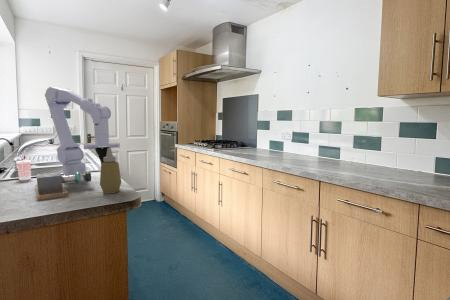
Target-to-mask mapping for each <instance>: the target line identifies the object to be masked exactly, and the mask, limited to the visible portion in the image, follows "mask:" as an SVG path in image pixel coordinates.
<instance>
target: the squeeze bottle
mask: <svg viewBox="0 0 450 300" xmlns="http://www.w3.org/2000/svg"><path fill="white" fill-rule="evenodd" d="M103 161H104V162H103V163H102V164H101V163H100V177H99V185H100V187H101V190H102V193H104V194H115V193H118V192H119V191H120V188H121V184H122V178H121V176H122V175H121V171H120V163H119V162H118V161H117V156H114V154H113V151H112V148H108V149H107V154H106V157H103Z"/></svg>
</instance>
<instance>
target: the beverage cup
mask: <svg viewBox="0 0 450 300" xmlns="http://www.w3.org/2000/svg"><path fill="white" fill-rule="evenodd" d="M24 153H25V152H24V150H22V151H21V154H22V160H17V161H15V164H16V168H17V174H18V180H19V181H27V180H31V179H32V175H31V174H32V171H31V170H32V169H31V168H32V165H31V164H32V160H30V159H29V160H25V156H24V155H25V154H24Z"/></svg>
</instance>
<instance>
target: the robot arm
mask: <svg viewBox="0 0 450 300" xmlns="http://www.w3.org/2000/svg"><path fill="white" fill-rule="evenodd" d="M44 96H45V100H46V103H47V106H48V110H49V112H50V116H51V118H52V122H53V125H54V128H55V131H56V134H57V137H58V140H59V143H60V144H59V145H58V147H57V148H56V152H57V154H56V155H57V157H56V158H57V160H58V162H59V163H60V164H61V165H62V174H63V175H62V176H70V175H75V173H76V172H80V174H85V173H87V168H86V167H87V166H86V163H85V162H82V160H83V159H84V155H85V154H84V151H83V149H84V150H95V152H96V154H97V156H98V158H99V160H100V165H101V164H102V163H103V162H104V161H103V157H106V154H107V149H108V148H111V149H113V148H114V149H115V148H121V144H120V142H112V143H111V142H110V131H109V130H110V129H109V119H110V118H111V117H112V116H111V115H112V111H111V109H110V108H109V107H108V106H105V105H103V106H102V105H101V104H100V103H96V102H95V101H93V99H92V98H83V97H82V96H80V95H79V94H77V93H76V92H75V91H74V90H71V88H70V89H69V88H60V87H54V86H48V87H47V89H46V91H45V94H44ZM71 102H72V103H73V104H76V105H78V106H79V108H80V110H82V111H83V112H85V113H87V114H88V115H90V118H91V119H92V123H93V127H94V128H93V129H94V131H93V132H94V143H92V144H91V143H90V144H83V149H82V148H81V147H80V144H79V143H78V142H75V141H74V138H73V136H72V132H71V129H70V126H69V123H68V119H67V118H66V117H67V116H66V114H65V112H64V111H65V109H66V108H67V107H68V106H69V105H70V104H71ZM74 183H75V182H71V183H70V184H74ZM81 183H86V181H81ZM67 184H69V183H63V185H67ZM75 184H76V183H75Z"/></svg>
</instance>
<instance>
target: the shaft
mask: <svg viewBox="0 0 450 300" xmlns="http://www.w3.org/2000/svg"><path fill="white" fill-rule="evenodd" d="M81 181H85V183H88V182H89V183H90V182H91V181H92V173H91V172H90V171H89V172H87V171H86V173H85V174H80V172H76V173H75V175H70V176H63V175H62V184H63V183H68V184H72V183H71V182H75V185H81V183H82V182H81ZM63 185H64V184H63Z"/></svg>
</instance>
